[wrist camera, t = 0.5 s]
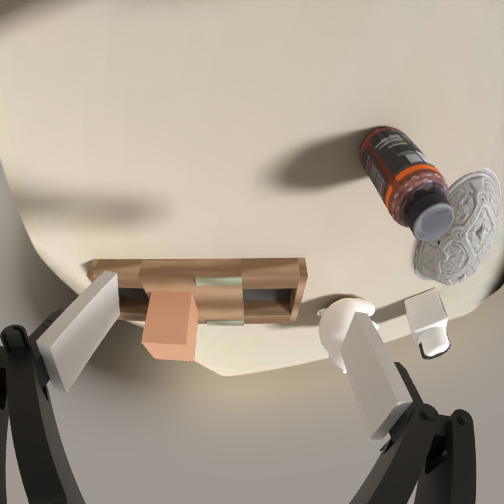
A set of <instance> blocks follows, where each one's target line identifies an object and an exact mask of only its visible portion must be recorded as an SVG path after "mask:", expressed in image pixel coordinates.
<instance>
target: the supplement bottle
mask: <svg viewBox="0 0 504 504" xmlns="http://www.w3.org/2000/svg"><path fill="white" fill-rule="evenodd" d="M360 159H361V163H362V165H363V167H364V169H365V171H366V172H367V174H368V176H369V177H370V179H371V181H372V182H373V184H374V186H375V187H376V189H377V191H378V193H379V194H380V196H381V198H382V200H383V202H384V204H385V205H386V207H387V209H388V211H389V213H390V215H391V216H392V217H393V219H394V220H395V221H396V222H397V223H398V224H400V225H402V226H404V227H409V228H410V229H411V231H412V232H413V234H414V236H415V237H416V238H417V239H419V240H421V241H430V240H434V239H436V238H438V237H440V236H441V235H443V234H444V233H445V232H446V231H447V230H448V229H449V228H450V226H451V225H452V223H453V220H454V210H453V208H452V206H451V205H450V203H449V202H448V186H447V183H446V181H445V179H444V178H443V176H442V175H441V174H440V173H439V171H438V170H437V169H436V168H435V167H434V165H433V164H432V163H431V162H430V161H429V160H428V158H427V157H426V156H425V155H424V154H423V153H422V152H421V151H420V149H419V148H418V147H417V146H416V145H415V144H414V143H413V142H412V141H411V140H410V139H409V138H408V137H407V136H406V135H405V134H404V133H403V132H402V131H400V130H398V129H396V128H392V127H383V128H380V129H377V130H375V131H373V132H372V133H370V134H369V135H368V136H367V138H366V139H365V140H364V142H363V144H362V146H361V150H360Z"/></svg>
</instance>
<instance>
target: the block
mask: <svg viewBox="0 0 504 504" xmlns="http://www.w3.org/2000/svg"><path fill="white" fill-rule="evenodd" d="M197 323H198V310H197V307H196V304H195V301H194V297H193V294H192V292H156V291H152V292H151V296H150V301H149V306H148V311H147V316H146V321H145V326H144V332H143V337H142V343H143V345H144V346H145V347H146V348H147V350H148V351H149V352H150V353H151V355H152V356H153V357H154V358H155V359H167V360H182V361H194V359H195V346H196V334H197Z"/></svg>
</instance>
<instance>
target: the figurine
mask: <svg viewBox="0 0 504 504" xmlns="http://www.w3.org/2000/svg"><path fill="white" fill-rule="evenodd" d="M355 312H362V313H367V314H368V315H369V316H371V315H373V314H374V312H375V308H374V306H373V304H372V303H370V302H369V301H365V300H363V299H360V298H354V299H353V298H343V299H340V300H338V301H336V302H334V303H333V304H331V305H330V306H329V307H328V308H326V309H321V310H319V311H318V312H317V315H318V316H321V319H320V322H319V335H320V340H321V343H322V345H323V346H324V348H325V349H326V350H327V351H328V354H329V358H330V360H331V361H332V363H333V364H334V365H336V366H337V367H339V368H341V369H342V372H343V373H346V372H347V371H346V370H345V369H346V367H345V364H344V361H343V358H342V355H341V352H340V348H341V345H342V343H343V341H344V338H345V336H346V334H347V331H348V329H349V326H350V324H351V321H352V319H353V316H354V314H355ZM372 323H373V324H374V326H375V328H376V330H377V329H378V328H379V325H377V324H376V323H375V322H373V321H372Z"/></svg>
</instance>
